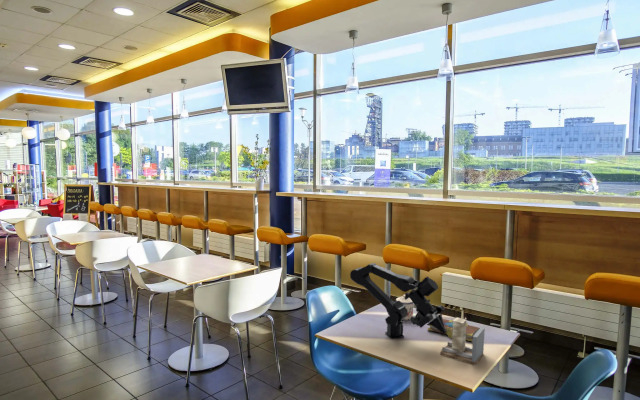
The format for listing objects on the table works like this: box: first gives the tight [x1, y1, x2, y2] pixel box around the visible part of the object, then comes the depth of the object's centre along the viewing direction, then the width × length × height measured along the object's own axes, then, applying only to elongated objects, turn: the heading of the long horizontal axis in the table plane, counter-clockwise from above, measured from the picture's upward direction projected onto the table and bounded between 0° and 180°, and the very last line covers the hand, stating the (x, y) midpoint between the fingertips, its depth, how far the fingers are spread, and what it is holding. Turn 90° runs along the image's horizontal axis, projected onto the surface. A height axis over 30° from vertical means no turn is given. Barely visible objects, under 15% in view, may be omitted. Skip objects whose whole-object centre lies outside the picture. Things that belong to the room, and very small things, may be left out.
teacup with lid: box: [395, 294, 414, 321], centre depth 207 cm, size 12×9×12 cm
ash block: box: [451, 317, 467, 352], centre depth 165 cm, size 4×5×13 cm
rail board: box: [439, 341, 484, 365], centre depth 164 cm, size 14×12×2 cm
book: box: [426, 318, 481, 342], centre depth 189 cm, size 16×25×5 cm, turn 53°
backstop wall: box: [471, 327, 485, 362], centre depth 160 cm, size 2×12×10 cm, turn 144°
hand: (444, 332), depth 168 cm, fingers closed
